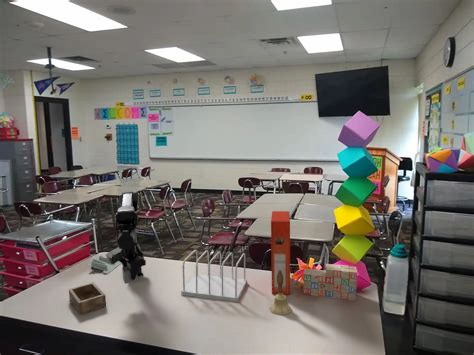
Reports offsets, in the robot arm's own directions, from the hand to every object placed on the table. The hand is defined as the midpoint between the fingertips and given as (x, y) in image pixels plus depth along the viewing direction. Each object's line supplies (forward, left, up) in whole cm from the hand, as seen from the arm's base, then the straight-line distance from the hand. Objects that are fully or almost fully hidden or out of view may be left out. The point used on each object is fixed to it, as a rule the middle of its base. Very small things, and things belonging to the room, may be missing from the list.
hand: (130, 277), depth 140 cm
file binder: (-57, +30, -11) cm, 65 cm away
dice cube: (0, 0, -1) cm, 1 cm away
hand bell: (-42, +44, -11) cm, 62 cm away
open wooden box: (+14, -11, -11) cm, 21 cm away
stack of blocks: (-66, +49, -11) cm, 83 cm away
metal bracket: (-4, -44, -12) cm, 46 cm away
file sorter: (-33, +13, -11) cm, 37 cm away
